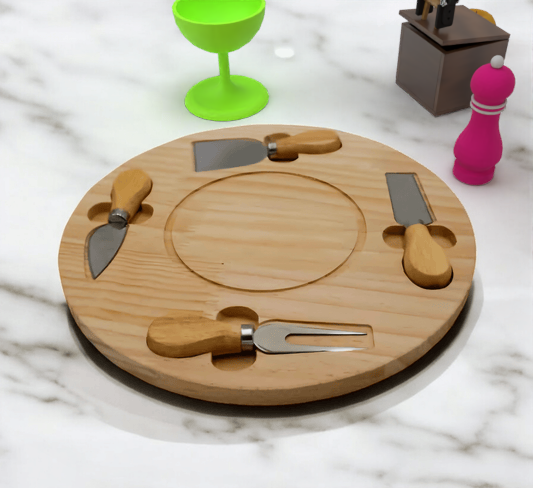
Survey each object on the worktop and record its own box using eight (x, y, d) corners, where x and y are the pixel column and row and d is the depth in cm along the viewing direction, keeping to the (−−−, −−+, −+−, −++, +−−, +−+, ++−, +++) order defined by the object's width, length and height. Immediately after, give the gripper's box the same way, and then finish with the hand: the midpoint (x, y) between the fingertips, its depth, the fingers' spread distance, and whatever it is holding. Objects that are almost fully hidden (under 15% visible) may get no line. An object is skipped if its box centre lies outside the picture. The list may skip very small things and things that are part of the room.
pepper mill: (488, 193, 99) (517, 73, 86) (442, 179, 102) (464, 61, 89) (502, 168, 104) (532, 50, 90) (458, 155, 107) (481, 40, 93)
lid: (442, 45, 106) (450, 11, 102) (398, 14, 116) (405, -19, 112) (509, 38, 111) (520, 5, 107) (461, 9, 120) (470, -23, 116)
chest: (434, 117, 115) (444, 54, 107) (395, 82, 125) (401, 22, 117) (495, 101, 119) (509, 39, 111) (452, 68, 128) (462, 9, 120)
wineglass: (271, 118, 117) (268, 21, 105) (182, 123, 117) (169, 27, 105) (266, 75, 129) (263, -17, 117) (186, 80, 129) (174, -12, 116)
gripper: (506, -86, 93) (482, 35, 106) (439, -113, 105) (424, -2, 118) (462, -77, 92) (443, 45, 104) (398, -107, 103) (388, 6, 116)
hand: (433, 19), depth 111 cm, fingers closed on lid, 5 cm apart
